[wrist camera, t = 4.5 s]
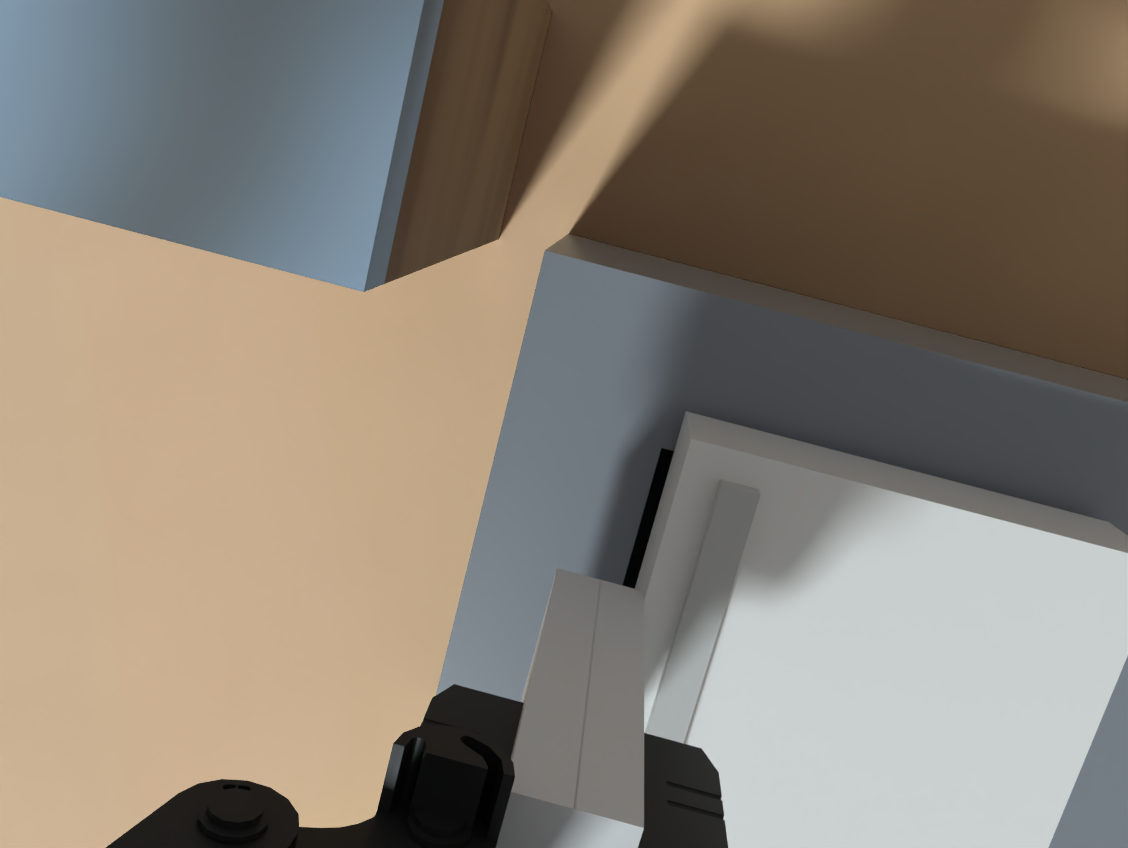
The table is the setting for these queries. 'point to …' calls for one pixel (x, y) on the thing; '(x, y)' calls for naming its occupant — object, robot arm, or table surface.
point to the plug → (274, 124)
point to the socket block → (774, 405)
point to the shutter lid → (875, 645)
